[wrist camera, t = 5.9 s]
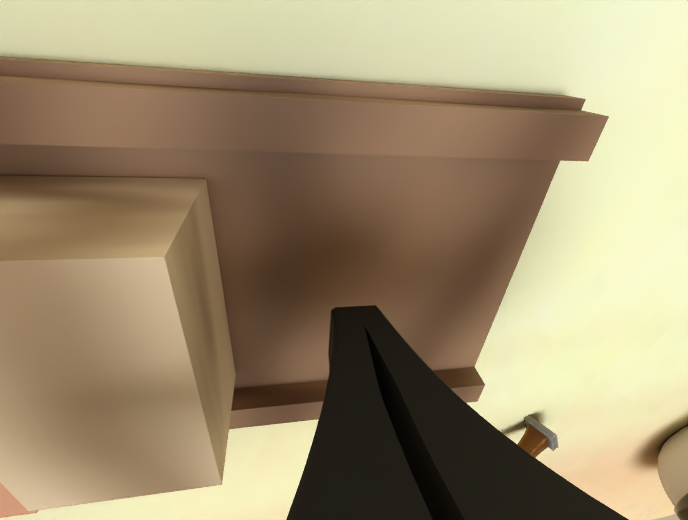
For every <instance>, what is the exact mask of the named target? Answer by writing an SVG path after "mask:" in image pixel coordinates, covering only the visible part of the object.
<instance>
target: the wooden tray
mask: <svg viewBox="0 0 688 520" xmlns="http://www.w3.org/2000/svg"><path fill="white" fill-rule="evenodd" d="M585 100H586V99H582V98H576V97H571V96H564V95H550V94H535V93H521V92H506V91H492V90H477V89H463V88H449V87H434V86H420V85H405V84H391V83H376V82H362V81H347V80H333V79H318V78H304V77H289V76H275V75H260V74H246V73H231V72H217V71H202V70H188V69H173V68H159V67H144V66H130V65H115V64H101V63H86V62H72V61H58V60H43V59H29V58H14V57H0V176H67V177H133V178H200V179H206V182H207V188H208V195H209V201H210V208H211V215H212V221H213V228H214V234H215V241H216V248H217V254H218V261H219V267H220V274H221V280H222V287H223V294H224V300H225V307H226V313H227V320H228V327H229V333H230V340H231V346H232V353H233V360H234V366H235V373H236V377H235V384H234V392H233V400H232V408H231V416H230V424H229V429H235V428H243V427H252V426H261V425H270V424H279V423H288V422H297V421H306V420H315V419H319V417H320V414H321V410H322V405H323V401H324V397H325V392H326V387H327V382H328V377H329V357H328V349H329V334H330V319H331V310H332V309H334V308H335V307H350V306H369V305H376V306H377V307H378V308H379V309H380V311H381V312H382V313H383V314H384V316H385V317H386V318H387V319H388V321H389V322H390V323H391V324H392V325H393V327H394V328H395V329H396V330H397V332H398V333H399V334H400V335H401V336H402V337H403V339H404V340H405V341H406V342H407V343H408V344H409V346H410V347H411V348H412V349H413V350H414V351H415V352H416V353H417V354H418V356H419V357H420V358H421V359H422V360H423V361H424V362H425V363H426V364H427V365H428V366H429V367H430V368H431V370H432V371H433V372H434V373H435V374H436V375H437V376H438V377H439V378H440V379H441V380H442V381H443V382H444V383H445V384H446V385H447V386H448V387H449V388H450V389H452V390H453V391H454V392H455V393H456V394H457V395H458V396H459V397H460V398H461V399H462V400H463V401H464V402H465V403H467V402H476V401H478V399H479V397H480V395H481V393H482V390H483V388H484V386H485V384H484V382H483V380H482V379H481V377H480V376H479V374H478V372H477V371H476V369H475V367H474V366H475V364H476V361H477V359H478V357H479V354H480V352H481V349H482V347H483V345H484V342H485V340H486V337H487V335H488V333H489V330H490V328H491V325H492V323H493V321H494V318H495V316H496V313H497V311H498V309H499V306H500V304H501V301H502V299H503V297H504V294H505V292H506V289H507V287H508V285H509V282H510V280H511V277H512V275H513V273H514V270H515V268H516V265H517V263H518V261H519V258H520V256H521V253H522V251H523V249H524V246H525V244H526V241H527V239H528V237H529V234H530V232H531V229H532V227H533V224H534V222H535V220H536V217H537V215H538V212H539V210H540V208H541V205H542V203H543V200H544V198H545V196H546V193H547V191H548V188H549V186H550V184H551V181H552V179H553V176H554V174H555V172H556V169H557V167H558V164H559V162H560V160H564V161H589V159H590V156H591V154H592V152H593V150H594V148H595V146H596V143H597V141H598V139H599V137H600V135H601V133H602V130H603V128H604V126H605V124H606V122H607V120H608V117H609V116H604V115H600V114H595V113H590V112H586V111H581V109H582V107H583V104H584V102H585ZM37 512H38V510H36V511H28V510H27V509H26V508H25V507H24V506H23V505H22V504H21V503H20V502H19V501H18V500H17V499H16V498H15V497H14V496H13V495H12V494H11V493H10V492H9V491H8V490H7V489H6V488H5V487H4V486H3V485H2V484H1V483H0V518H2V517H9V516H16V515H24V514H31V513H37Z"/></svg>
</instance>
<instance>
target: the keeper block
mask: <svg viewBox="0 0 688 520" xmlns="http://www.w3.org/2000/svg"><path fill="white" fill-rule="evenodd" d="M235 377H236V373H235V366H234V360H233V353H232V346H231V340H230V333H229V327H228V320H227V313H226V307H225V300H224V294H223V287H222V280H221V274H220V267H219V261H218V254H217V248H216V241H215V234H214V228H213V221H212V215H211V208H210V201H209V195H208V188H207V182H206V179H200V178H133V177H67V176H0V483H1V484H2V485H3V486H4V487H5V488H6V489H7V490H8V491H9V492H10V493H11V494H12V495H13V496H14V497H15V498H16V499H17V500H18V501H19V502H20V503H21V504H22V505H23V506H24V507H25V508H26V509H27V510H28V511H36V510H43V509H50V508H58V507H65V506H72V505H79V504H86V503H94V502H101V501H108V500H115V499H122V498H129V497H137V496H144V495H151V494H158V493H165V492H173V491H180V490H187V489H194V488H201V487H208V486H216V485H222V478H223V471H224V463H225V455H226V447H227V439H228V431H229V424H230V416H231V408H232V400H233V392H234V384H235Z"/></svg>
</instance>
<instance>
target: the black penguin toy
mask: <svg viewBox="0 0 688 520" xmlns="http://www.w3.org/2000/svg"><path fill="white" fill-rule="evenodd" d="M658 473H659V477H660V480H661V483H662V485H663V488H664V490H665V492H666V494H667V495H668V497H669V499H670V500H671V502H672V503H673V505H674V506H675V507H674V512H675V514H676V515H677V516H678V518H679V519H680V520H688V426H686V427H685V428H683V429H681V430H680V431H678V432H676V433H675V434H674V435H672V436H671V437H670V438H669V439H668V440H667V441H666V442H665V443H664V445H663V446H662V448H661V451H660V453H659V457H658Z"/></svg>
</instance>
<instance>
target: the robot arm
mask: <svg viewBox="0 0 688 520" xmlns="http://www.w3.org/2000/svg"><path fill="white" fill-rule="evenodd" d="M328 357H329V377H328V382H327V387H326V392H325V397H324V401H323V405H322V410H321V414H320V417H319V421H318V425H317V429H316V432H315V436H314V439H313V442H312V446H311V449H310V452H309V455H308V459H307V462H306V465H305V468H304V471H303V474H302V477H301V480H300V483H299V486H298V489H297V492H296V494H295V497H294V500H293V503H292V505H291V508H290V511H289V514H288V517H287V519H286V520H628V519H627V518H625V517H623V516H622V515H620V514H619V513H617V512H615V511H614V510H612V509H611V508H609V507H607V506H606V505H604V504H602V503H601V502H599V501H598V500H596V499H594V498H593V497H591V496H590V495H588V494H587V493H585V492H583V491H582V490H580V489H579V488H577V487H576V486H575V485H573V484H572V483H570V482H569V481H567V480H566V479H564V478H563V477H561V476H560V475H558V474H557V473H555V472H554V471H552V470H551V469H550V468H548V467H547V466H545V465H544V464H543V463H541V462H540V461H538V460H537V459H536V458H534V457H533V456H532V455H530V454H529V453H528V452H526V451H525V450H524V449H522V448H521V447H520V446H518V445H517V444H516V443H514V442H513V441H512V440H510V439H509V438H508V437H506V436H505V435H504V434H502V433H501V432H500V431H499V430H497V429H496V428H495V427H494V426H492V425H491V424H490V423H489V422H488V421H486V420H485V419H484V418H483V417H481V416H480V415H479V414H478V413H477V412H476V411H475V410H473V409H472V408H471V407H470V406H469V405H468V404H467V403H465V402H464V401H463V400H462V399H461V398H460V397H459V396H458V395H457V394H456V393H455V392H454V391H453V390H452V389H450V388H449V387H448V386H447V385H446V384H445V383H444V382H443V381H442V380H441V379H440V378H439V377H438V376H437V375H436V374H435V373H434V372H433V371H432V370H431V368H430V367H429V366H428V365H427V364H426V363H425V362H424V361H423V360H422V359H421V358H420V357H419V356H418V354H417V353H416V352H415V351H414V350H413V349H412V348H411V347H410V346H409V344H408V343H407V342H406V341H405V340H404V339H403V337H402V336H401V335H400V334H399V333H398V332H397V330H396V329H395V328H394V327H393V325H392V324H391V323H390V322H389V321H388V319H387V318H386V317H385V316H384V314H383V313H382V312H381V311H380V309H379V308H378V307H377V306H376V305H369V306H350V307H335V308H334V309H332V310H331V319H330V334H329V349H328Z"/></svg>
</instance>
